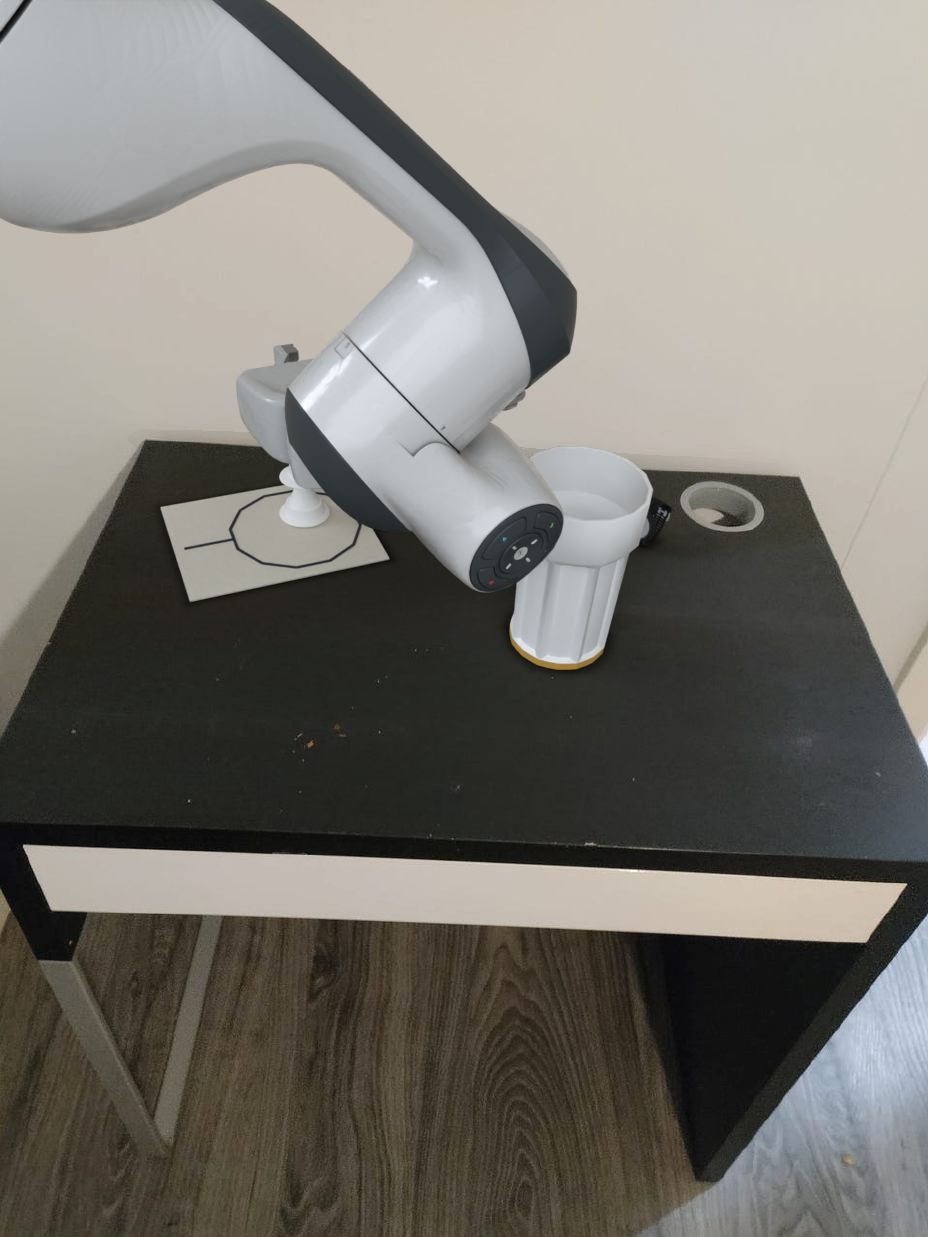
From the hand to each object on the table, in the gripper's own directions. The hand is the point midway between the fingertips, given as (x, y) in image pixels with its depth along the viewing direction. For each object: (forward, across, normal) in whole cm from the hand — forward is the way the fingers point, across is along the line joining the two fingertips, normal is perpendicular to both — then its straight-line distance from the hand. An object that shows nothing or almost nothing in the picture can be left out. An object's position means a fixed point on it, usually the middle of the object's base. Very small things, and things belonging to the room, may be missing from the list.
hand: (338, 343), depth 75 cm
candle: (+12, 0, +25) cm, 28 cm away
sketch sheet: (+10, +4, +25) cm, 27 cm away
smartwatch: (-6, -32, +25) cm, 41 cm away
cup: (-15, -15, +25) cm, 33 cm away
